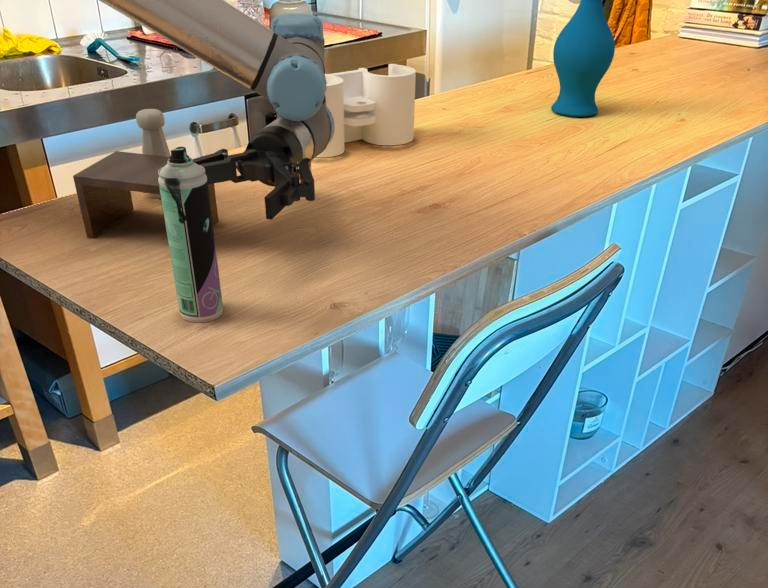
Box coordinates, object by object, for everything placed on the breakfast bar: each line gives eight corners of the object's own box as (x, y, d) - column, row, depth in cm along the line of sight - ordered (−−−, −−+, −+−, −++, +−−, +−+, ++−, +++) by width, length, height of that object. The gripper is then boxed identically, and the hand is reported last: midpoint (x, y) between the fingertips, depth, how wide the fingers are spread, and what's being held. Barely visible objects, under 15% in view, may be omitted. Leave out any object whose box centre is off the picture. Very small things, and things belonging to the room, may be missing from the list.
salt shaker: (137, 195, 135) (121, 111, 127) (162, 185, 139) (149, 103, 130) (161, 203, 133) (147, 117, 124) (187, 193, 136) (175, 109, 128)
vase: (551, 102, 184) (571, -47, 165) (607, 108, 181) (634, -43, 162) (540, 116, 175) (560, -40, 157) (599, 122, 172) (626, -36, 154)
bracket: (314, 161, 150) (312, 89, 142) (289, 147, 156) (285, 77, 148) (423, 140, 161) (426, 72, 153) (395, 128, 167) (397, 62, 159)
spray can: (223, 321, 102) (203, 155, 89) (179, 323, 101) (152, 156, 88) (223, 301, 106) (203, 140, 93) (180, 304, 105) (154, 141, 92)
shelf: (86, 237, 122) (72, 175, 116) (127, 209, 130) (116, 150, 125) (184, 250, 118) (174, 187, 112) (218, 221, 127) (211, 161, 121)
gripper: (361, 187, 118) (312, 243, 102) (203, 170, 123) (134, 220, 107) (361, 132, 113) (309, 182, 97) (197, 116, 118) (122, 161, 102)
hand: (217, 202), depth 102 cm, fingers open, 13 cm apart
